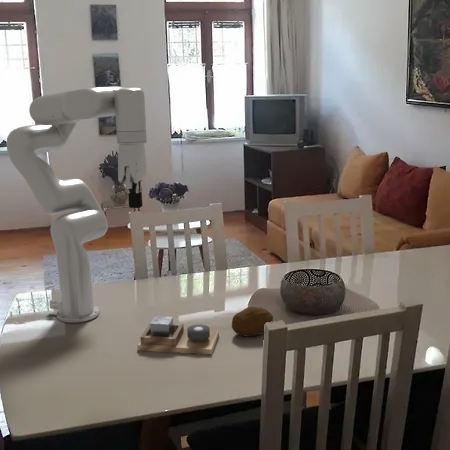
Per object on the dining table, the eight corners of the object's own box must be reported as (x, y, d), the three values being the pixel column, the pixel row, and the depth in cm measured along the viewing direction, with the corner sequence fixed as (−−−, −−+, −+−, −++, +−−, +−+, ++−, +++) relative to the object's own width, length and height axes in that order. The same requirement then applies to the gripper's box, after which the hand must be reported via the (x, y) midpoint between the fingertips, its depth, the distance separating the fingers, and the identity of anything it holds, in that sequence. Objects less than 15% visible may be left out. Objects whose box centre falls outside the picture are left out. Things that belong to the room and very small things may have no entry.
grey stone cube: (151, 340, 165) (150, 323, 164) (156, 332, 170) (155, 316, 169) (169, 341, 165) (168, 324, 163) (173, 333, 169) (172, 316, 168)
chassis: (137, 350, 163) (136, 338, 162) (149, 332, 174) (148, 321, 173) (211, 354, 160) (211, 342, 159) (218, 336, 171) (218, 324, 170)
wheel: (185, 340, 163) (185, 333, 162) (190, 330, 169) (189, 323, 168) (207, 341, 162) (207, 334, 162) (211, 331, 168) (211, 324, 167)
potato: (226, 332, 173) (225, 307, 171) (263, 323, 179) (263, 298, 177) (241, 343, 166) (240, 317, 164) (279, 333, 172) (279, 307, 170)
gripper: (126, 133, 165) (130, 200, 170) (107, 141, 151) (112, 213, 155) (153, 133, 164) (157, 201, 168) (137, 141, 149) (141, 214, 154)
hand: (135, 207), depth 162 cm, fingers closed
